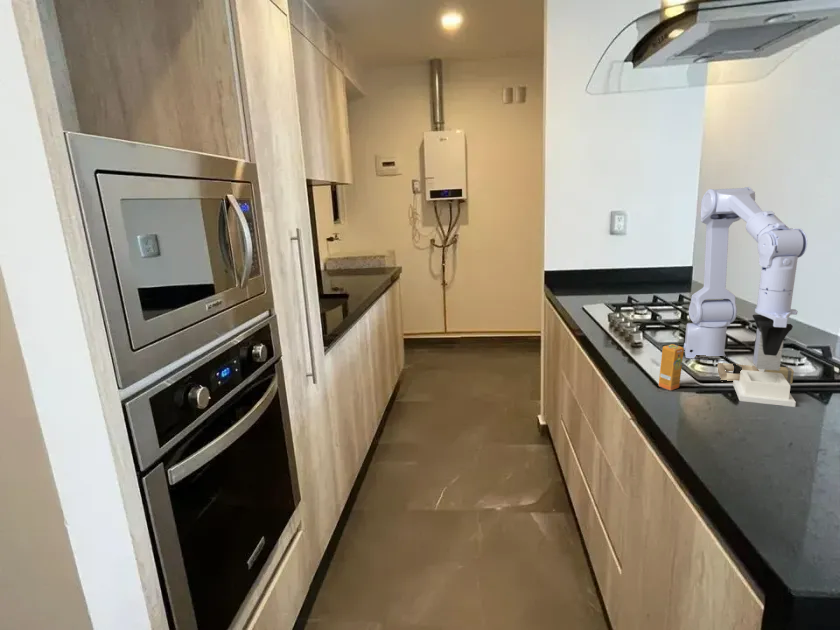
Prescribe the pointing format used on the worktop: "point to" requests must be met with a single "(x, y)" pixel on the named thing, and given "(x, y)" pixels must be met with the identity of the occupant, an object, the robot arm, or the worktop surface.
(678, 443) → the worktop surface
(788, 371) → the tan rectangular block
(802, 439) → the worktop surface
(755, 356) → the steel peg
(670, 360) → the supplement box
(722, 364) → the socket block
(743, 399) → the white square socket
